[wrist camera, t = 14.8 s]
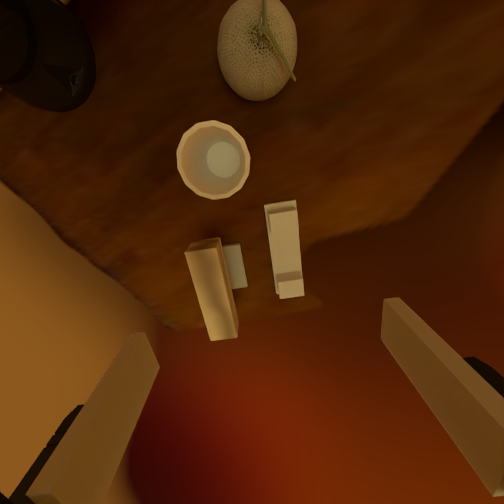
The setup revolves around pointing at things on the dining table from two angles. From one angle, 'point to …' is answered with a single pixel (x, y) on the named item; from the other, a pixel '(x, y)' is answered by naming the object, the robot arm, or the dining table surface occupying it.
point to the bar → (213, 287)
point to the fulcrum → (235, 265)
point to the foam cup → (213, 160)
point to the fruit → (257, 48)
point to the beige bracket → (285, 247)
